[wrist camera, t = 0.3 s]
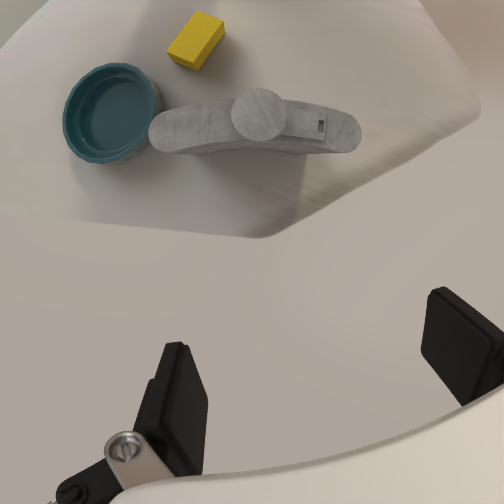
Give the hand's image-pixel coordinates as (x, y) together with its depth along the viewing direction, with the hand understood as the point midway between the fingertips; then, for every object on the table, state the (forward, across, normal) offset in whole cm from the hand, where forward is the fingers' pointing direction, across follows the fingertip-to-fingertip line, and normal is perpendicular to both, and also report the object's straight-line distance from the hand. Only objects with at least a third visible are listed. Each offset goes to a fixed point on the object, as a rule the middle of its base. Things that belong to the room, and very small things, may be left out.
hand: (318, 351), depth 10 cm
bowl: (+31, +17, -17) cm, 39 cm away
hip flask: (+31, 0, -9) cm, 32 cm away
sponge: (+31, +4, -24) cm, 39 cm away
